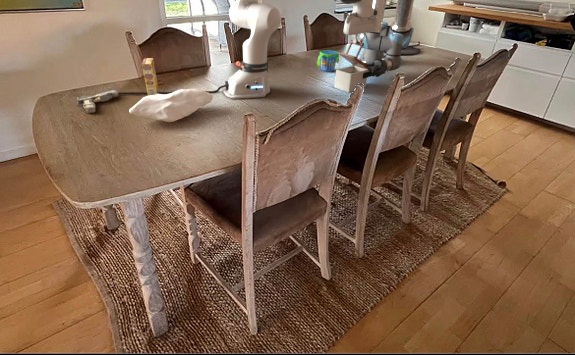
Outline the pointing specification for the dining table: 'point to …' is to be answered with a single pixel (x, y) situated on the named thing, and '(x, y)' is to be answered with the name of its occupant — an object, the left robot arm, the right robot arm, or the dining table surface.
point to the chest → (349, 78)
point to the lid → (354, 59)
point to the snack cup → (328, 60)
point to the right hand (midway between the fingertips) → (355, 73)
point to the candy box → (150, 76)
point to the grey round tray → (409, 50)
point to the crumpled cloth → (171, 104)
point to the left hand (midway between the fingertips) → (357, 42)
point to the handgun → (95, 100)
